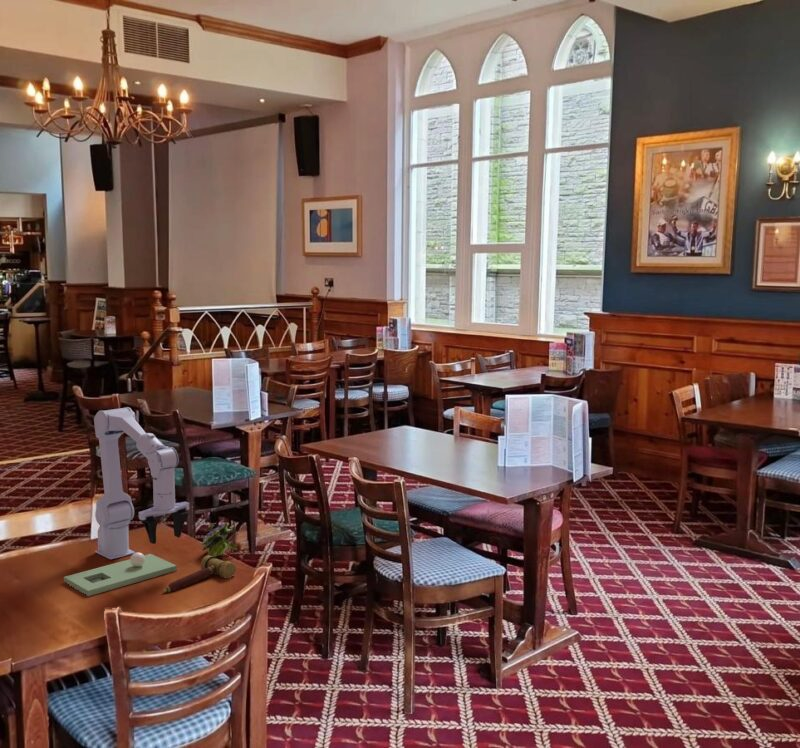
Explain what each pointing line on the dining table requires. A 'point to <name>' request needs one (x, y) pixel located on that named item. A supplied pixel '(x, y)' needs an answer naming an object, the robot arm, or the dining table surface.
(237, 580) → the dining table surface
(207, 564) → the gavel
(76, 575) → the putting mat
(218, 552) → the passion flower
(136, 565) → the ball
